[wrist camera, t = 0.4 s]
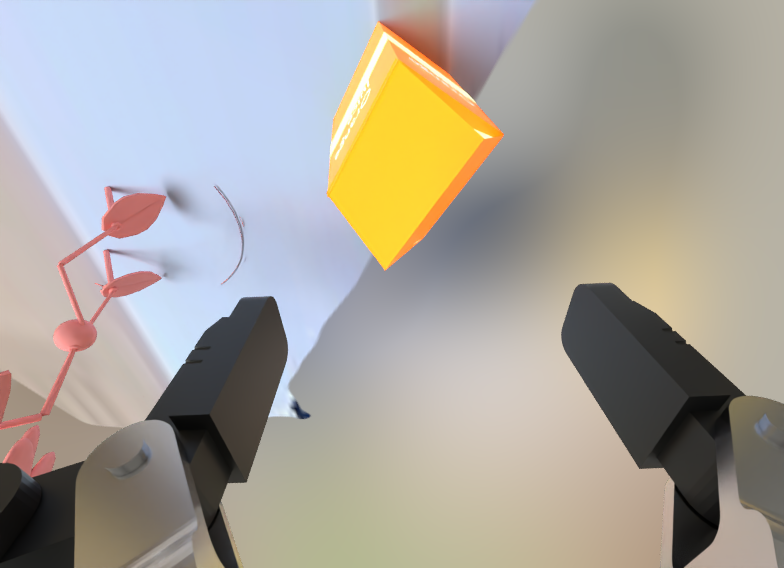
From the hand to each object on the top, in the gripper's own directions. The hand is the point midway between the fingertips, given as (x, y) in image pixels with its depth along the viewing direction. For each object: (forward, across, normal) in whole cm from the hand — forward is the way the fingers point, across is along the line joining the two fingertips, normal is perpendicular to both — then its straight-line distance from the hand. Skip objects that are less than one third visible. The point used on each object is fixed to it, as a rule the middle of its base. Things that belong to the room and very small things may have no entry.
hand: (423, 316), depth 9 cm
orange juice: (+29, 0, -3) cm, 29 cm away
